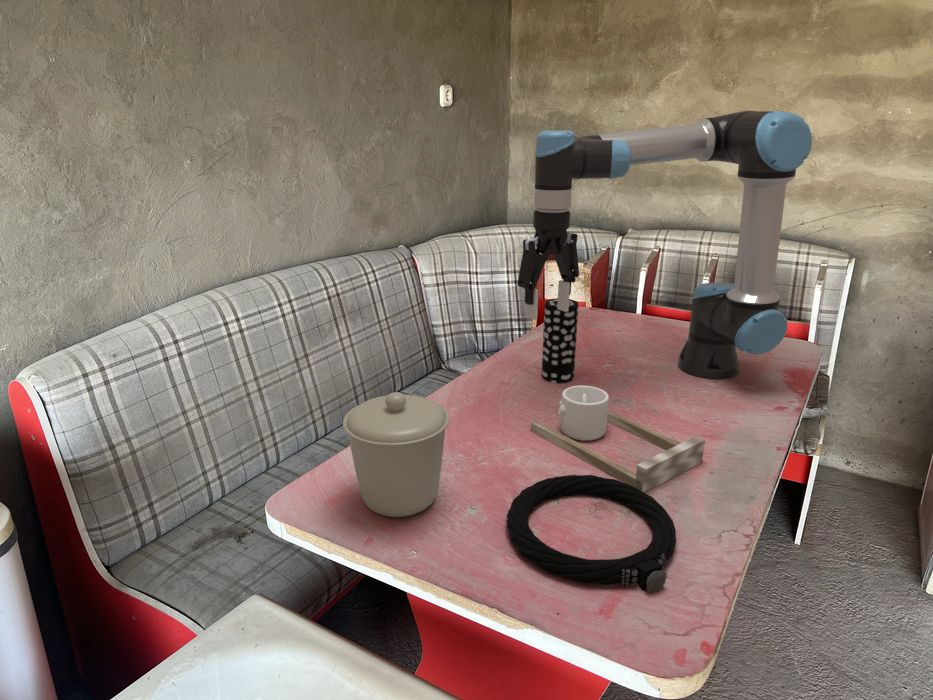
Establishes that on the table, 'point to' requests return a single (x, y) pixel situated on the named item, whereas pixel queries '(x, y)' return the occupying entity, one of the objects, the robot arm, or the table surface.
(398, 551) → the table surface
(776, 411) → the table surface
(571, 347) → the spotted tube
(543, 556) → the cable lock
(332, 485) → the table surface
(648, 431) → the guide channel
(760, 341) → the robot arm
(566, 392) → the mug
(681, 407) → the table surface
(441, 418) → the canister
